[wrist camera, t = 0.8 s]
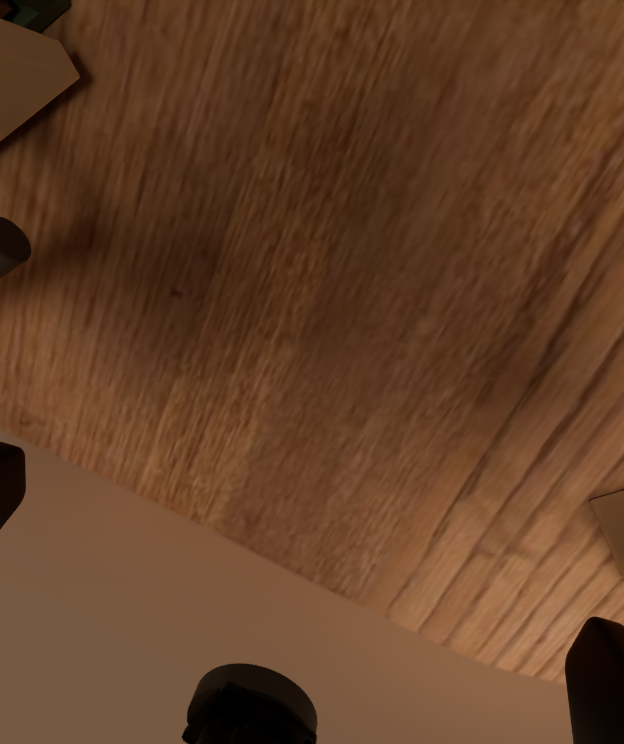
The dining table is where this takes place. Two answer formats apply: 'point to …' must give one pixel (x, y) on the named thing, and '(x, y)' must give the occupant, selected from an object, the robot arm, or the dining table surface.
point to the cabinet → (35, 12)
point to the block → (612, 524)
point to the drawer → (26, 103)
